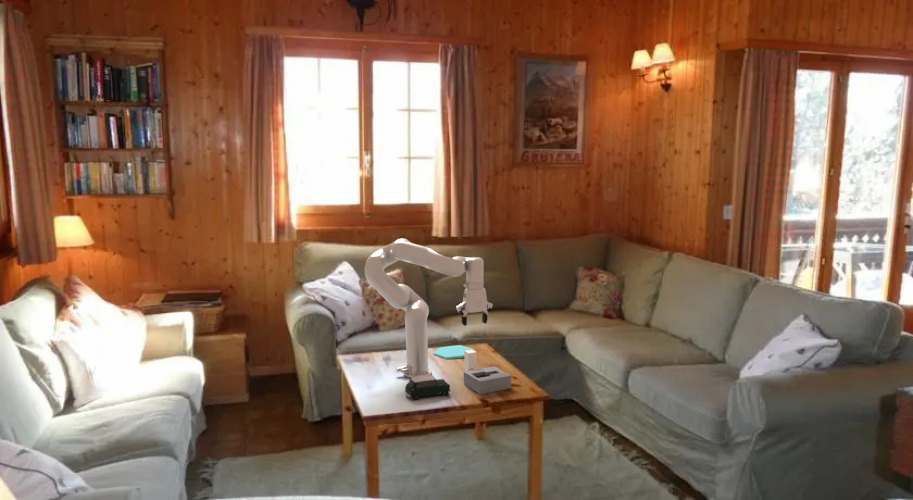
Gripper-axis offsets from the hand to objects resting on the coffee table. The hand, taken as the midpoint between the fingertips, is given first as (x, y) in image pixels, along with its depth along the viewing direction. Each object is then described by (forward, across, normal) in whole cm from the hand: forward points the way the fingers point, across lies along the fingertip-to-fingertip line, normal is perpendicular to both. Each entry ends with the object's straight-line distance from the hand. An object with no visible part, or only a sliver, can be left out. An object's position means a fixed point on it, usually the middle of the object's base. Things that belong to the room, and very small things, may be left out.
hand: (474, 323), depth 296 cm
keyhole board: (+23, -1, -16) cm, 28 cm away
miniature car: (+24, -28, -15) cm, 40 cm away
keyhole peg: (+23, -3, -2) cm, 23 cm away
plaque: (+24, +4, +33) cm, 41 cm away
